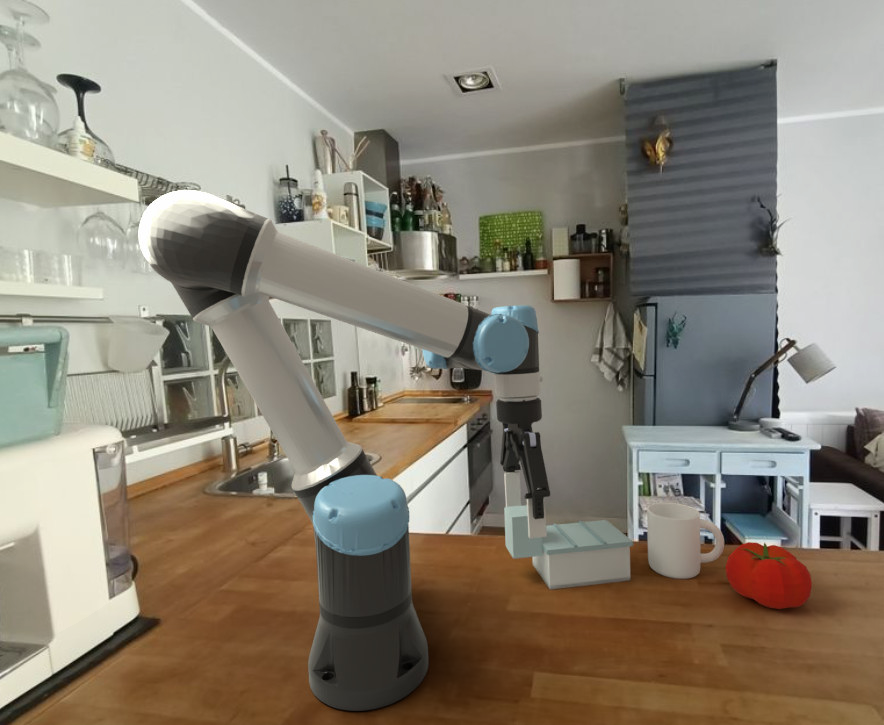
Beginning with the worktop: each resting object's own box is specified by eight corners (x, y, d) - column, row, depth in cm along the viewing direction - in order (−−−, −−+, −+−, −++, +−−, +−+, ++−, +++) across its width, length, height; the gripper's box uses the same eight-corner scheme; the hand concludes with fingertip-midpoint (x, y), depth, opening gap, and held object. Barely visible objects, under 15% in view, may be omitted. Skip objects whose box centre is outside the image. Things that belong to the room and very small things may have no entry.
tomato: (725, 576, 82) (725, 532, 81) (807, 590, 76) (806, 544, 76) (725, 607, 73) (724, 558, 72) (817, 627, 67) (817, 574, 67)
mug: (718, 562, 87) (718, 505, 86) (731, 585, 79) (730, 522, 78) (646, 555, 90) (644, 501, 90) (650, 577, 82) (649, 517, 82)
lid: (633, 553, 81) (632, 511, 81) (517, 565, 78) (516, 522, 78) (605, 530, 91) (604, 493, 90) (502, 540, 88) (500, 502, 88)
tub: (630, 580, 82) (629, 545, 81) (550, 589, 80) (548, 553, 80) (605, 556, 91) (604, 525, 90) (532, 564, 89) (531, 532, 88)
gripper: (568, 405, 70) (574, 549, 72) (518, 388, 95) (524, 495, 96) (517, 410, 69) (525, 555, 71) (481, 391, 94) (486, 499, 95)
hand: (524, 521), depth 83 cm, fingers open, 13 cm apart
